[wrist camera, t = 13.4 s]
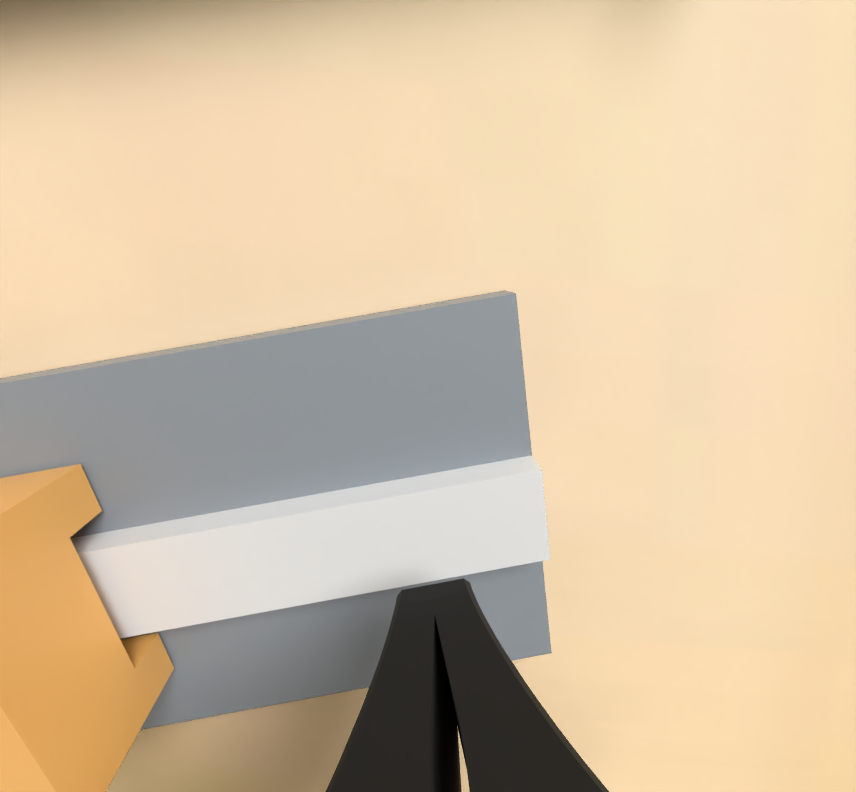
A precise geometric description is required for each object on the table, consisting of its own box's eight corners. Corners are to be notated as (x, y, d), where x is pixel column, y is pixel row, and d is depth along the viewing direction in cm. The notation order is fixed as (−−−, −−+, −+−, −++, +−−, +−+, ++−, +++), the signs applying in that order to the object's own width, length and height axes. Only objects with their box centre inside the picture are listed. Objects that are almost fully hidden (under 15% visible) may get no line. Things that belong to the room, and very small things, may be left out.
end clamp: (173, 667, 11) (82, 833, 8) (60, 689, 11) (-79, 863, 8) (80, 463, 9) (-88, 569, 6) (-57, 488, 9) (-299, 608, 6)
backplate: (540, 624, 13) (588, 749, 10) (-256, 772, 13) (-490, 954, 9) (504, 290, 10) (558, 304, 7) (-543, 473, 10) (-1044, 584, 6)
